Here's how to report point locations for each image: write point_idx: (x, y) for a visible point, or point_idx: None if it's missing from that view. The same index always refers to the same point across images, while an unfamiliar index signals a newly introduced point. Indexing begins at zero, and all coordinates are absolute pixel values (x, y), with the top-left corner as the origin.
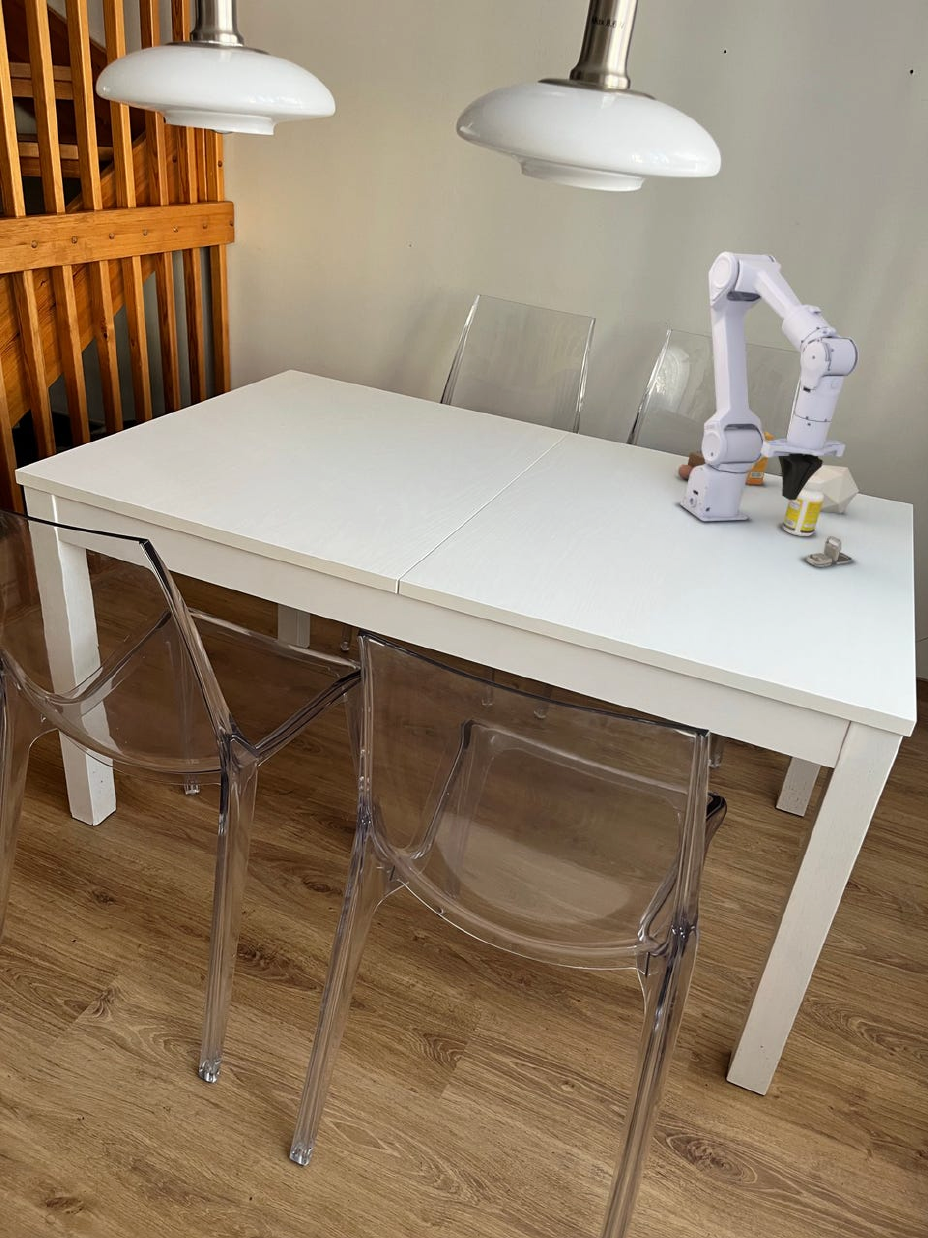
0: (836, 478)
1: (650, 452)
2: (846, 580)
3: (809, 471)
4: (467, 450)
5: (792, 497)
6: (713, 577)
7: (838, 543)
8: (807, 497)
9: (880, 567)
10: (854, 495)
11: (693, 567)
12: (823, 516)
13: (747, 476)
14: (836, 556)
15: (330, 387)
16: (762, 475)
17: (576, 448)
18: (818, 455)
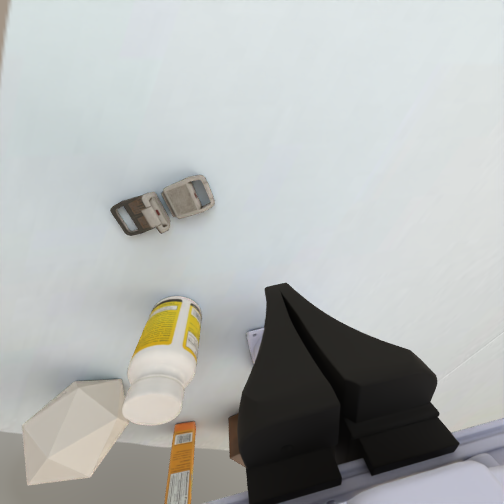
0: (66, 444)
1: None
2: (156, 110)
3: (296, 354)
4: (449, 409)
5: (284, 286)
6: (425, 119)
7: (148, 199)
8: (174, 353)
9: (46, 184)
10: (36, 414)
11: (430, 161)
12: (110, 365)
13: (194, 433)
14: (153, 192)
15: None
16: (175, 439)
17: None
18: (440, 477)
